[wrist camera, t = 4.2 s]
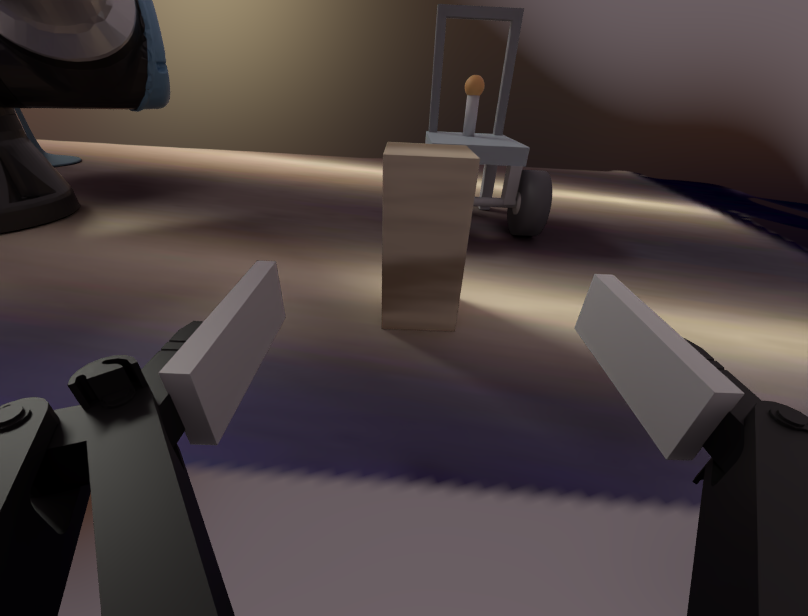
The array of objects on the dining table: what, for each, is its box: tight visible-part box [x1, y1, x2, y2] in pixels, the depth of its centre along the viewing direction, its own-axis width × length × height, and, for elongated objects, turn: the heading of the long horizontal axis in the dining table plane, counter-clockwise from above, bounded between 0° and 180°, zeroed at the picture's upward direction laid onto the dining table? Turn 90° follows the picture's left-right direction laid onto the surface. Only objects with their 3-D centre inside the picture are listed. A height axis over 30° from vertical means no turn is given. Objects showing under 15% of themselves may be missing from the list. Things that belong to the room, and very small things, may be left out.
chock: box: [382, 142, 480, 331], centre depth 23 cm, size 5×5×11 cm
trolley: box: [426, 4, 552, 236], centre depth 38 cm, size 15×15×22 cm
